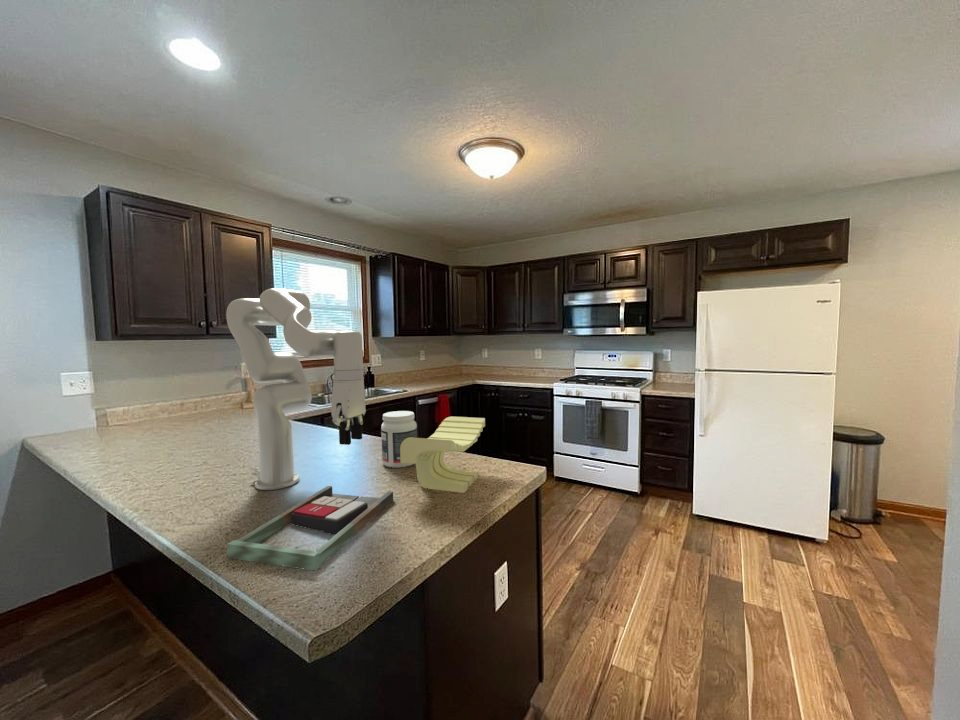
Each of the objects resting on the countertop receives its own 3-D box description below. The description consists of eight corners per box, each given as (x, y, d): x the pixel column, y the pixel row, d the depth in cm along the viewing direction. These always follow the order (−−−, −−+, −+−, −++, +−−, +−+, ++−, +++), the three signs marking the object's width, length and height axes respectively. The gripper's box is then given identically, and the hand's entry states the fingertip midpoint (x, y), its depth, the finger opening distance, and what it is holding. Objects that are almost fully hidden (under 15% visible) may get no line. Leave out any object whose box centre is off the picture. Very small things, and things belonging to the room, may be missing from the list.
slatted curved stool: (443, 464, 139) (442, 415, 138) (485, 468, 134) (484, 418, 133) (401, 498, 110) (399, 436, 109) (453, 504, 106) (451, 440, 105)
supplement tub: (423, 459, 146) (422, 410, 145) (409, 470, 134) (408, 417, 133) (391, 457, 149) (390, 409, 148) (375, 468, 137) (373, 416, 136)
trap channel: (227, 557, 81) (227, 543, 81) (327, 494, 114) (327, 484, 114) (314, 570, 76) (314, 556, 76) (393, 500, 109) (393, 490, 109)
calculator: (324, 494, 106) (368, 500, 100) (325, 509, 106) (369, 516, 100) (290, 510, 95) (336, 518, 89) (291, 528, 96) (338, 536, 90)
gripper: (354, 373, 115) (355, 433, 116) (317, 379, 99) (319, 449, 100) (376, 373, 113) (378, 434, 114) (343, 379, 97) (345, 451, 98)
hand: (351, 440), depth 107 cm, fingers open, 4 cm apart
